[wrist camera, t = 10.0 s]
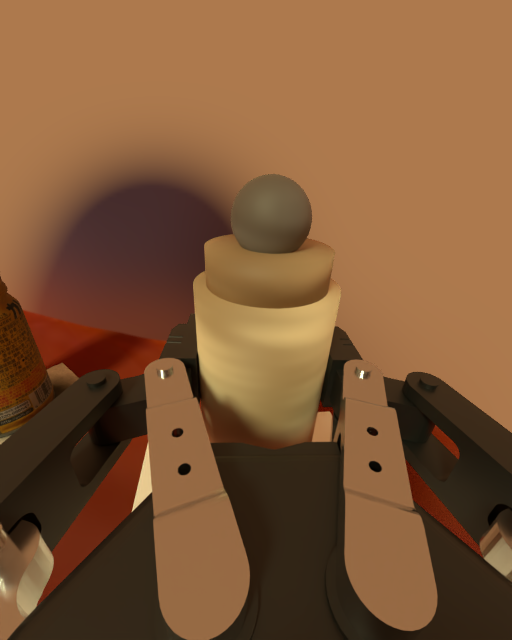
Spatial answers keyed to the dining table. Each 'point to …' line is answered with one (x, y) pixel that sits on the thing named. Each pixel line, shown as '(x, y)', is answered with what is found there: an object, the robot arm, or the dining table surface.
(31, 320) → the dining table surface
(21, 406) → the condiment
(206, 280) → the pepper mill
